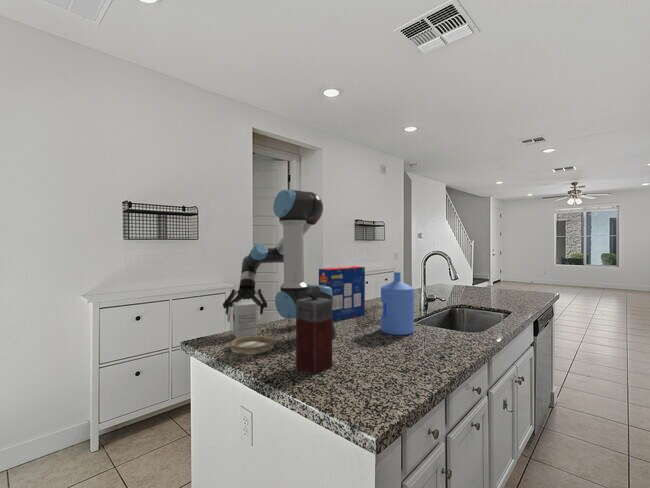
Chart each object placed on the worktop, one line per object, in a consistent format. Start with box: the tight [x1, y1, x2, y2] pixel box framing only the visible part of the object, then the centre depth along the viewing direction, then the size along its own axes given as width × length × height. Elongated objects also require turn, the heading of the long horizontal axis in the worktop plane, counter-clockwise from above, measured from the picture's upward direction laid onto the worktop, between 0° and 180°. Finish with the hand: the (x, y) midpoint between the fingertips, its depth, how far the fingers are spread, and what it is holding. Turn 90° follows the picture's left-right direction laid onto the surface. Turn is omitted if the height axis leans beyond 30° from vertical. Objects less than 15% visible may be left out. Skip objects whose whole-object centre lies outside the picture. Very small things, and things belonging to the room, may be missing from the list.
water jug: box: [380, 271, 415, 336], centre depth 166 cm, size 16×16×28 cm
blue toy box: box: [318, 265, 366, 323], centre depth 194 cm, size 28×8×28 cm, turn 131°
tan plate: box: [229, 335, 275, 355], centre depth 141 cm, size 17×17×2 cm
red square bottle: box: [295, 286, 333, 375], centre depth 119 cm, size 9×11×28 cm
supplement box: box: [232, 300, 258, 339], centre depth 158 cm, size 9×9×15 cm
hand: (243, 320), depth 157 cm, fingers open, 13 cm apart
